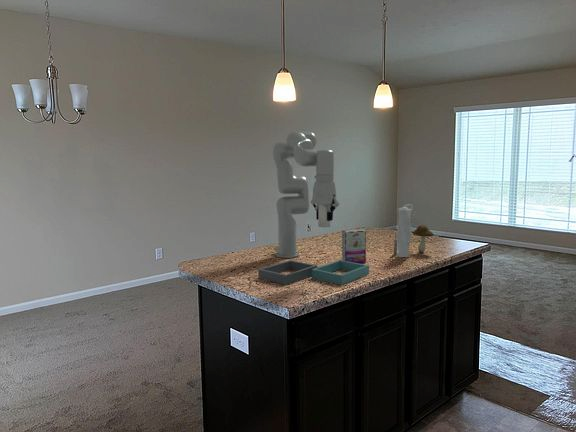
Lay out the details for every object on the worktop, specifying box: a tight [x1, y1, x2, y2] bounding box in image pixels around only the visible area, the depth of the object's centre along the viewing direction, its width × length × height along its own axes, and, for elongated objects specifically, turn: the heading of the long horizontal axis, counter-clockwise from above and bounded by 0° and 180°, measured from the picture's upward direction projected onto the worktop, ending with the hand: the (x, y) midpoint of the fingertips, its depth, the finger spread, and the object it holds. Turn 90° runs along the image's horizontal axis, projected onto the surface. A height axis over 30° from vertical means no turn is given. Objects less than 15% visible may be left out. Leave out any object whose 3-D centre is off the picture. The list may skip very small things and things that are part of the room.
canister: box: [317, 204, 331, 228], centre depth 201 cm, size 5×5×10 cm
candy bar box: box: [341, 228, 367, 264], centre depth 229 cm, size 11×5×16 cm, turn 105°
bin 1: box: [257, 259, 318, 286], centre depth 205 cm, size 16×22×4 cm
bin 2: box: [311, 259, 370, 286], centre depth 205 cm, size 16×22×4 cm
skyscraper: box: [392, 203, 414, 259], centre depth 241 cm, size 8×8×28 cm
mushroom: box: [412, 224, 434, 253], centre depth 250 cm, size 9×11×15 cm
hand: (324, 219), depth 201 cm, fingers closed on canister, 5 cm apart
